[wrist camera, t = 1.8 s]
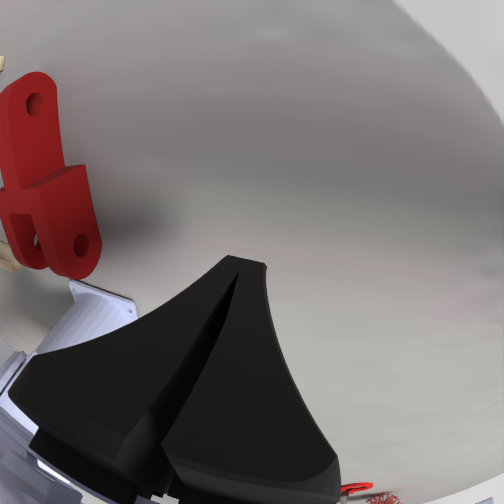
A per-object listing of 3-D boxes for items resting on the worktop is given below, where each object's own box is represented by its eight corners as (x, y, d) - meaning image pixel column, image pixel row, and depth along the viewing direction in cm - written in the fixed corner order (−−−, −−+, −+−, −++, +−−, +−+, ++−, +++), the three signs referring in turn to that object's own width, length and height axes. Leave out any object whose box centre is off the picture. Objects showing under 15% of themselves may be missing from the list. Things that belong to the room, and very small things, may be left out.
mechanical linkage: (107, 256, 21) (72, 293, 17) (55, 248, 23) (22, 277, 18) (78, 60, 13) (24, 64, 9) (25, 85, 14) (-20, 96, 10)
